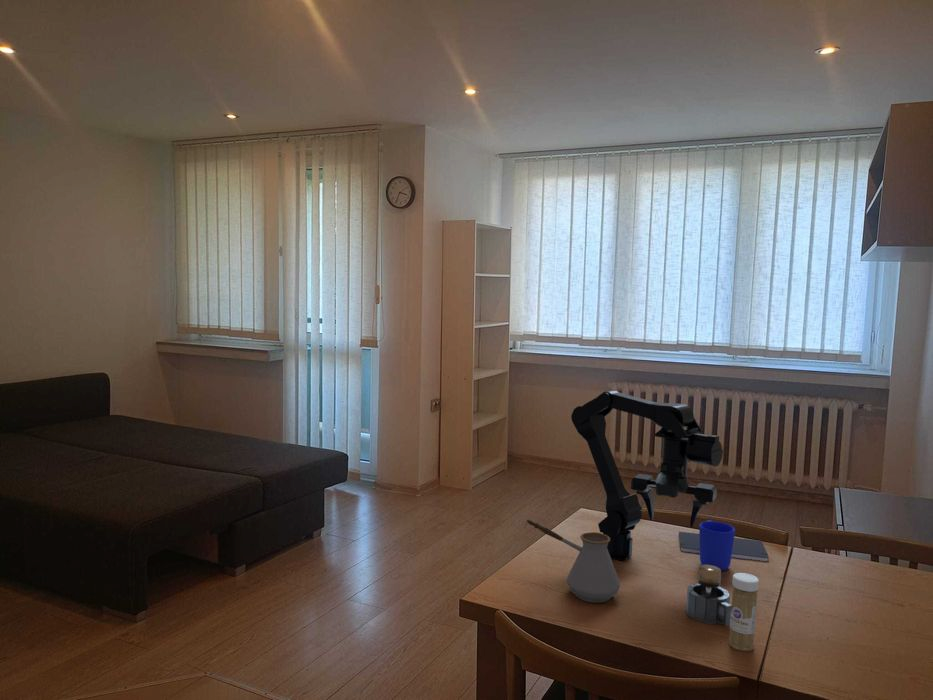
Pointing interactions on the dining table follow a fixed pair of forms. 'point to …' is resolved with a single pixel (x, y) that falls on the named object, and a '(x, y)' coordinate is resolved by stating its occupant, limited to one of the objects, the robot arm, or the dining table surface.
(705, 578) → the plunger
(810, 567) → the dining table surface
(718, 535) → the mug
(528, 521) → the coffee pot
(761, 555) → the notebook
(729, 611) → the press body
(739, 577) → the sprinkles bottle
